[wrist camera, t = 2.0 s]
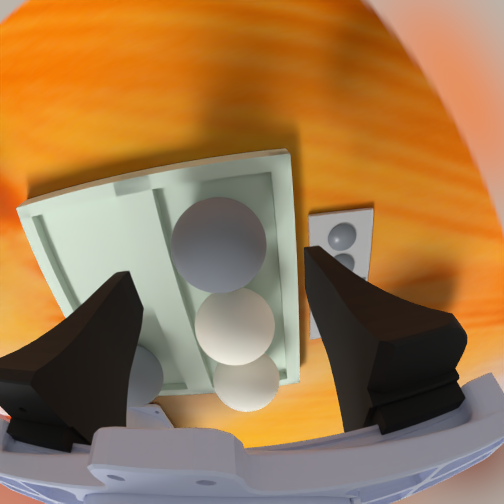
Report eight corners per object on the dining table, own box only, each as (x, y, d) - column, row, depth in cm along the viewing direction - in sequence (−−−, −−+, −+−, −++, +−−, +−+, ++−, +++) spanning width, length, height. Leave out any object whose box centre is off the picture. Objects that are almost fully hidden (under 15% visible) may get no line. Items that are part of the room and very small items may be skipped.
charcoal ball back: (174, 369, 23) (168, 418, 19) (122, 371, 23) (111, 417, 19) (156, 328, 21) (145, 381, 17) (99, 332, 21) (82, 381, 17)
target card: (359, 327, 23) (360, 331, 23) (309, 336, 23) (310, 340, 23) (371, 207, 18) (374, 210, 18) (307, 214, 18) (309, 217, 18)
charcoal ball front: (265, 254, 18) (276, 306, 14) (187, 265, 18) (178, 318, 14) (257, 178, 16) (267, 214, 12) (169, 191, 16) (150, 231, 12)
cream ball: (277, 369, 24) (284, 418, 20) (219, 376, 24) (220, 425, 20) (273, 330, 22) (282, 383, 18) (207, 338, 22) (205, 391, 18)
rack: (297, 370, 25) (299, 382, 24) (118, 384, 25) (116, 395, 24) (285, 148, 16) (290, 153, 15) (26, 199, 16) (15, 208, 15)
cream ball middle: (272, 322, 21) (281, 375, 17) (205, 330, 21) (202, 384, 17) (266, 266, 19) (277, 319, 15) (190, 276, 19) (182, 330, 15)
